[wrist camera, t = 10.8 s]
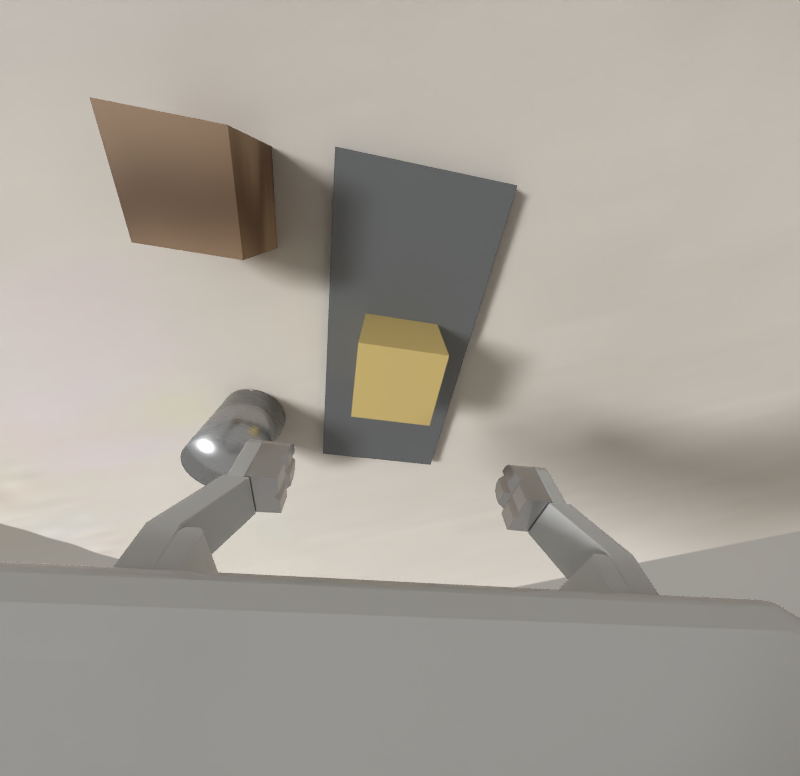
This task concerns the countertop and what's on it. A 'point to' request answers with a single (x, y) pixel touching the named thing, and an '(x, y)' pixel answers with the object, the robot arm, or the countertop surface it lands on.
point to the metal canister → (231, 433)
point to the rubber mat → (404, 281)
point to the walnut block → (189, 181)
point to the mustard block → (398, 370)
